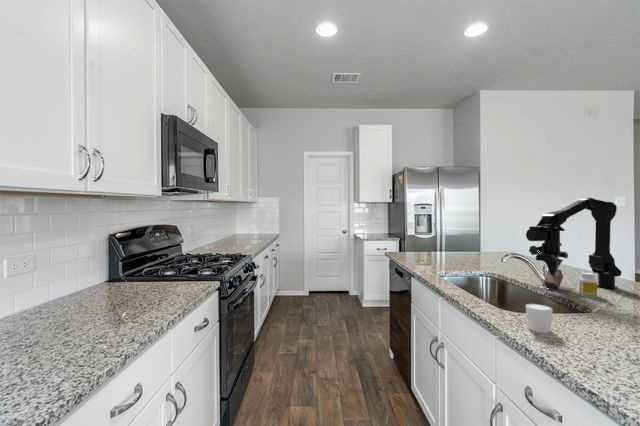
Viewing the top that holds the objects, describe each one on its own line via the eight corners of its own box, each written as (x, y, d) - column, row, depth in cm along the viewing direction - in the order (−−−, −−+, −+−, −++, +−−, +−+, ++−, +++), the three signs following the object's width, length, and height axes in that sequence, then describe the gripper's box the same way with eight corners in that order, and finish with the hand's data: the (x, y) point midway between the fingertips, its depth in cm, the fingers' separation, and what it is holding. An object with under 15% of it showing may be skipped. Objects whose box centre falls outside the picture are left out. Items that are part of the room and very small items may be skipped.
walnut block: (546, 287, 137) (551, 274, 141) (558, 289, 134) (563, 276, 137) (543, 281, 136) (549, 268, 139) (555, 283, 132) (560, 269, 135)
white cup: (545, 335, 88) (545, 312, 88) (521, 327, 94) (520, 305, 94) (557, 330, 91) (557, 308, 91) (533, 323, 97) (532, 302, 97)
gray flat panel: (544, 284, 145) (544, 283, 145) (575, 289, 135) (575, 288, 135) (531, 288, 137) (531, 288, 137) (562, 294, 127) (562, 293, 127)
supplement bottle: (600, 298, 121) (600, 274, 121) (587, 298, 121) (587, 275, 121) (589, 294, 127) (588, 272, 127) (576, 294, 127) (576, 272, 127)
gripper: (540, 238, 147) (540, 269, 147) (522, 240, 137) (523, 274, 137) (568, 240, 138) (568, 273, 138) (551, 242, 128) (551, 278, 128)
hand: (552, 274), depth 136 cm, fingers closed
